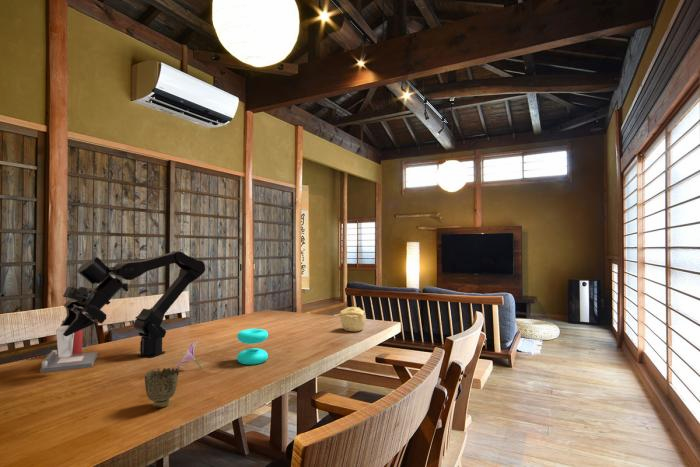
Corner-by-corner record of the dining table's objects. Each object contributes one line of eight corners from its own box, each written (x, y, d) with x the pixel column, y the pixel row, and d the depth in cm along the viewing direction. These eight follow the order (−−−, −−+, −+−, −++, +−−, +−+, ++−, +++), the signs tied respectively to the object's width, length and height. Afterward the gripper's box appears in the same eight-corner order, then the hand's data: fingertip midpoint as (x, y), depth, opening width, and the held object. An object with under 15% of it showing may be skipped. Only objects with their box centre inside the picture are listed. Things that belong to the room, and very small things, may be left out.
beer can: (70, 357, 134) (71, 322, 134) (54, 356, 135) (55, 321, 136) (86, 352, 140) (87, 318, 141) (71, 351, 142) (72, 318, 142)
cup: (151, 400, 97) (152, 367, 97) (182, 399, 98) (183, 366, 98) (137, 412, 90) (138, 377, 90) (171, 411, 90) (172, 376, 90)
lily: (196, 365, 130) (181, 340, 128) (222, 354, 125) (207, 329, 124) (172, 388, 119) (155, 361, 117) (199, 377, 114) (182, 350, 113)
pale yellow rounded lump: (338, 332, 175) (338, 308, 176) (343, 327, 187) (343, 304, 187) (363, 333, 173) (363, 308, 174) (367, 328, 185) (367, 305, 185)
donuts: (231, 331, 131) (257, 326, 138) (231, 361, 130) (256, 355, 138) (248, 335, 124) (274, 330, 131) (247, 367, 123) (273, 361, 131)
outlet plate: (97, 355, 137) (97, 346, 137) (91, 367, 124) (91, 356, 124) (51, 360, 131) (51, 350, 131) (40, 372, 118) (40, 362, 118)
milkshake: (80, 354, 119) (81, 321, 120) (62, 358, 114) (63, 324, 115) (70, 353, 121) (70, 320, 121) (51, 357, 116) (52, 323, 116)
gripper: (71, 275, 127) (28, 314, 118) (95, 278, 116) (49, 321, 107) (98, 297, 133) (58, 336, 124) (123, 302, 122) (81, 345, 113)
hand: (61, 334), depth 117 cm, fingers closed on milkshake, 4 cm apart
